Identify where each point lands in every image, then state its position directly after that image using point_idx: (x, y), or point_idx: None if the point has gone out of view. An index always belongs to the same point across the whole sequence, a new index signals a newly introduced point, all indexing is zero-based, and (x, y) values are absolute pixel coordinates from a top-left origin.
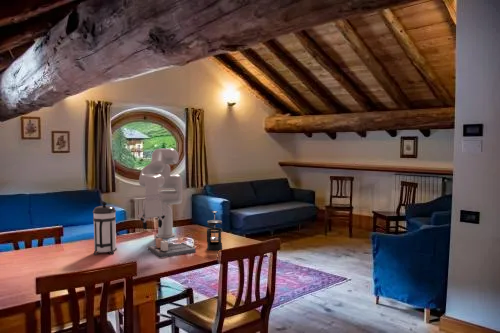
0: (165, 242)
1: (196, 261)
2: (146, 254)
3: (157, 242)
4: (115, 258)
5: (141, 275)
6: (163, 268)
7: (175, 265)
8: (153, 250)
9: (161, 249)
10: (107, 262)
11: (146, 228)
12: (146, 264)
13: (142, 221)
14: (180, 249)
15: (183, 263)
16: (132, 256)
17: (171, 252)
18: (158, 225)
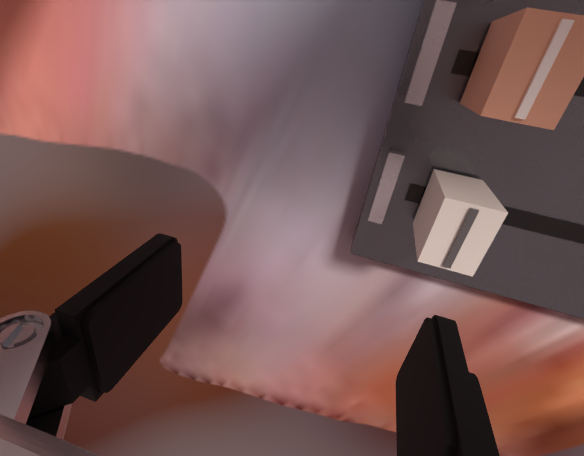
0: (442, 266)
1: None
2: (334, 93)
3: (479, 90)
4: (116, 28)
5: (164, 357)
6: (262, 367)
7: (324, 380)
8: (390, 118)
9: (426, 189)
10: (66, 90)
11: (170, 315)
12: (229, 279)
13: (18, 331)
14: (564, 270)
15: (371, 390)
16: (227, 68)
17: (439, 277)
18: (426, 342)
